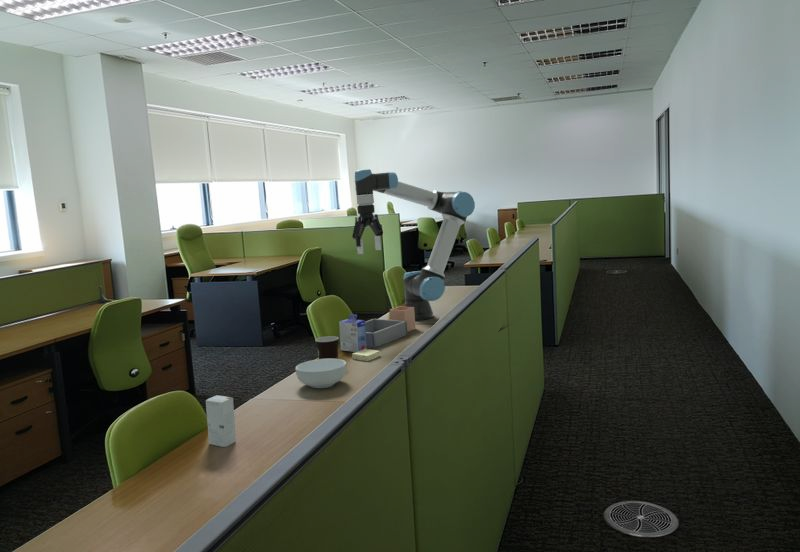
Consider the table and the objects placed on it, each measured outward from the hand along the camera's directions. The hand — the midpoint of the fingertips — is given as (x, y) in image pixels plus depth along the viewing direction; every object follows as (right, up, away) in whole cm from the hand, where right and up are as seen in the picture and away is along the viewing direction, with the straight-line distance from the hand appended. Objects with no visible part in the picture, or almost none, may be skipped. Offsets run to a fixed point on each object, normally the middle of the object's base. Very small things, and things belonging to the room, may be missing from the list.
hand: (369, 251), depth 280 cm
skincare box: (-33, -55, -117) cm, 133 cm away
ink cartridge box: (-5, -41, -29) cm, 50 cm away
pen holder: (+15, -35, +2) cm, 39 cm away
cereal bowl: (-12, -48, -72) cm, 87 cm away
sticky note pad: (+1, -43, -41) cm, 59 cm away
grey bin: (+3, -38, -13) cm, 40 cm away
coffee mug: (-12, -44, -47) cm, 66 cm away
